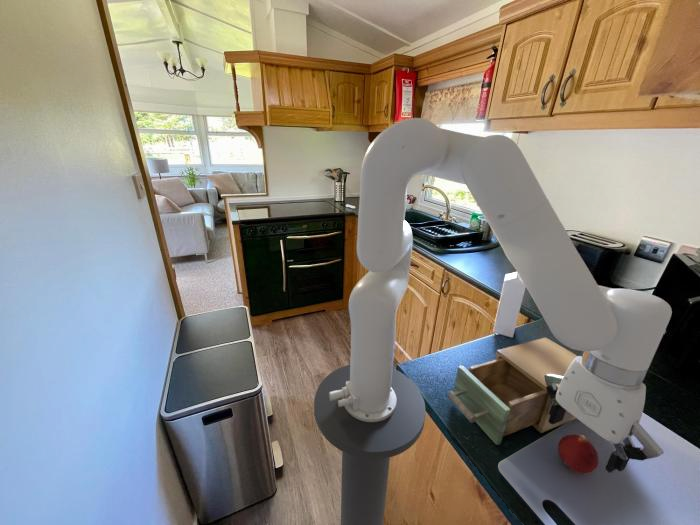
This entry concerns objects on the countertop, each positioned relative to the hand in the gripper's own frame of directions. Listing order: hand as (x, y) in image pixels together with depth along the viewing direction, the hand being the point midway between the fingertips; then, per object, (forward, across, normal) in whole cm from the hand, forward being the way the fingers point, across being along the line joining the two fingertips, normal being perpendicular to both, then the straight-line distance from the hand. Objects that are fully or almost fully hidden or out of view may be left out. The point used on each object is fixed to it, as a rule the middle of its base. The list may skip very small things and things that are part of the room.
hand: (581, 442), depth 52 cm
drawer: (+5, -14, -5) cm, 16 cm away
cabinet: (+6, -14, +10) cm, 18 cm away
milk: (+6, -39, +26) cm, 47 cm away
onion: (+7, 0, 0) cm, 7 cm away
